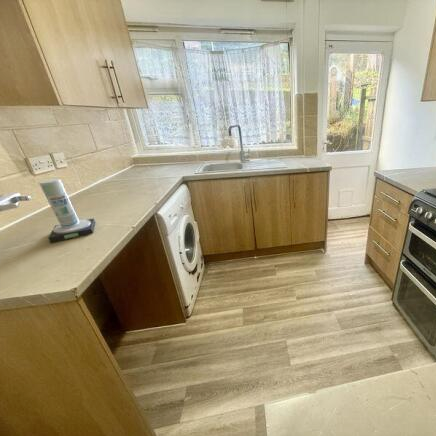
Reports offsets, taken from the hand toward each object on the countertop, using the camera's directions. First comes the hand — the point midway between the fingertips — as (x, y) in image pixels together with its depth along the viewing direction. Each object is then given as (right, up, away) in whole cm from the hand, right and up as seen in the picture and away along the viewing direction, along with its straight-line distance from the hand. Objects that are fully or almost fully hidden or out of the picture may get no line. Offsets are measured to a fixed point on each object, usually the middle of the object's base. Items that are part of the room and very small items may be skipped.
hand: (23, 201), depth 97 cm
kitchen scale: (+11, -13, +10) cm, 20 cm away
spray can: (+10, -10, +10) cm, 17 cm away
